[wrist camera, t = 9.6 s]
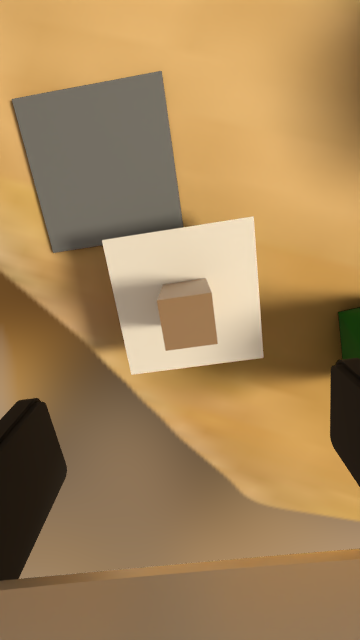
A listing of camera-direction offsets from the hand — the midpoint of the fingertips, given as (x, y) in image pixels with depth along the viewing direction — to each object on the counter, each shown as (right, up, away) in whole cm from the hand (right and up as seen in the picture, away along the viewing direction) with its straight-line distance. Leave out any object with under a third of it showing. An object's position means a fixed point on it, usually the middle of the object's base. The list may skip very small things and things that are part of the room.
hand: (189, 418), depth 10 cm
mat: (-7, +17, +18) cm, 26 cm away
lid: (0, +5, +16) cm, 17 cm away
